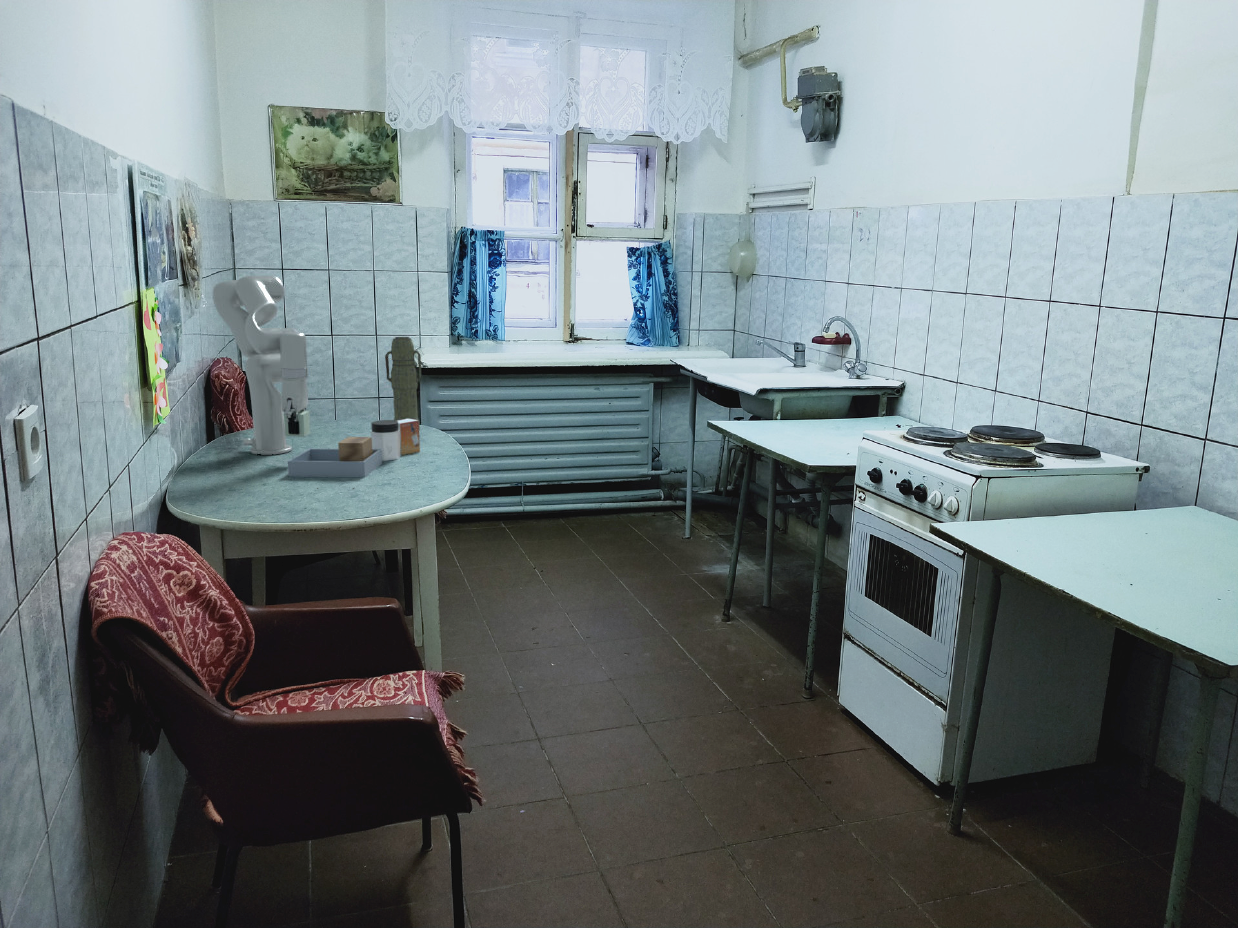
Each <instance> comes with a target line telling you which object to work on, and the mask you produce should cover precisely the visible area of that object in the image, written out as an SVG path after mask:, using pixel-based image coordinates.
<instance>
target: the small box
mask: <svg viewBox="0 0 1238 928" xmlns="http://www.w3.org/2000/svg"><path fill="white" fill-rule="evenodd" d="M419 424H420V420H419V421H418V420H413V419H404V420H398V429H399V436H400V455H401V456H405V455H409V454H416V453H420V452H421V447H420V446H421V443H420V441H421V440H420V437H419V435H420V430H419ZM415 452H416V453H415Z"/></svg>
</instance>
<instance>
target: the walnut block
mask: <svg viewBox="0 0 1238 928" xmlns="http://www.w3.org/2000/svg"><path fill="white" fill-rule="evenodd" d="M337 446H338V449H339V461H364V460H365V459H367V458H368V457H370V456H371V455H372V454H373V452H372V437H371V436H348V437H346V438H344V439H343V440H340V441H338V445H337Z"/></svg>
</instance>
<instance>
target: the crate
mask: <svg viewBox="0 0 1238 928" xmlns="http://www.w3.org/2000/svg"><path fill="white" fill-rule="evenodd" d="M372 452H373V454H372V455H371V456H370V457H368V458H367V459H365V460H364V461H339V448H308V449H306V450H305V451H303V452H301V453H299V454H298V455H296V456H294V457H292V458H291V459H289V460H287V467H288V468H287V469H288V477H298V478H299V477H301V478H302V477H309V478H310V477H313V478H322V477H323V478H324V477H325V478H326V477H327V478H328V477H329V478H366V477H367V476H368V475H370V474H371V473H372V472H374V471H375V470H376V469H378V467H380V466H381V465H382V464H383V461H382V451H381V449H372Z"/></svg>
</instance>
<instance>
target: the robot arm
mask: <svg viewBox="0 0 1238 928" xmlns="http://www.w3.org/2000/svg"><path fill="white" fill-rule="evenodd" d="M284 297H285V287H284V284H283V282H282V280H281V279H280V278H279V277H277V276H275V275H269V274H268V275H246V276H242V277H240V278H239V279H233V280H232V279H231V280H224V281H220V282H219V283H216V284H215V285H214V287H213V289H212V300H213V304H214V307H215V310H216V311H217V313H218V315H219V317H221V319H222V321H224V323H225V324H226V325H227V327H228V328H229V329H230V331H231V333H232V336H233V339H234V340H235V342H236V345H237V347H238V348H239V351H240V352H241V354H242V355H243V356H244V357H245V358H247V359H246V360H245V364H244V369H245V370H244V371H245V374H246V378H247V383H248V387H249V393H250V394H249V395H250V400H251V401H250V402H251V403H250V404H251V410H252V412H251V413H252V422H253V423H252V425H253V433H254V436H253V438H243V439H242V443H243V445H244V446H251V448H250V453H251V454H254V455H257V454H261V456H271V455H272V454H273V455H279V454H285V453H289V452H291V451H292V449H293V447H292V445H290V444H288V443H287V436H285V427H284V413H285V414H286V416H287V421H288V433H289V434H297V435H298V434H299V433H300V432H299V421H298V412H299V411H307V407H308V406H309V394H308V393H309V391H308V383H307V382H308V381H307V379H309V377H308V375H309V373H308V357H307V356H308V355H307V354H308V353H307V337H306V335H305V333H303V332H300V331H298V330H297V329H295V328H293V327H292V328H289V327H285V328H280V327H268V328H265V327H264V328H263V327H262V326H264V325H266V324H268V323H270V322H271V321H273V320H274V319H275V318H276V316H277V314H278V311H279V310H278V305H277V303H279V302H282V300H283V299H284ZM242 307H245V309H244V308H242ZM279 383H281V392H280V391H279V389H278V388H276V385H274V384H279ZM291 410H294V411H291ZM292 413H295V416H294V415H293V414H292Z"/></svg>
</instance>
